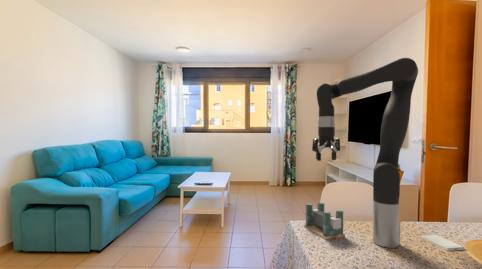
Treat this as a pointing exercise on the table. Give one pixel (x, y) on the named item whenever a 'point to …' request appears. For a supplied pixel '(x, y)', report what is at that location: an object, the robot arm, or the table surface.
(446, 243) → the hard drive
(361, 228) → the table surface
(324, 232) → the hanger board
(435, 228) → the table surface
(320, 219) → the power strip
